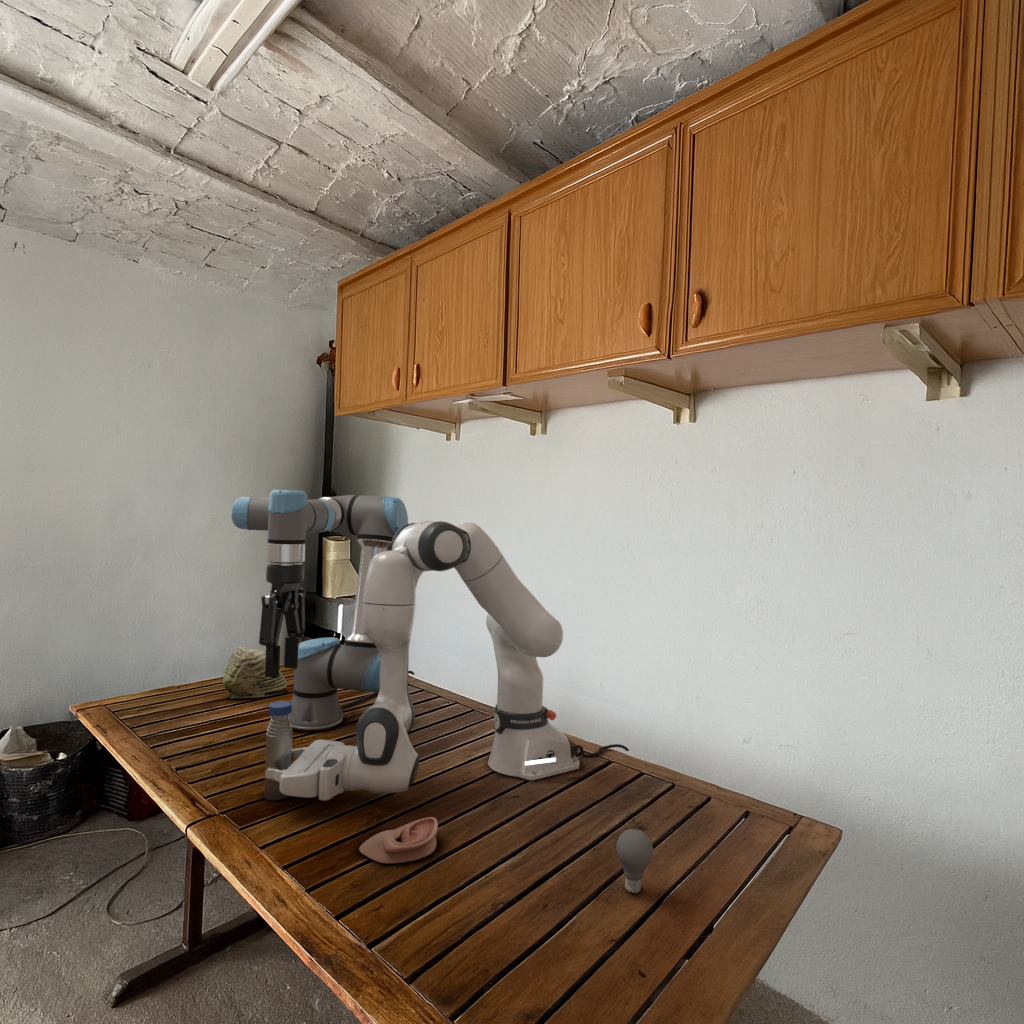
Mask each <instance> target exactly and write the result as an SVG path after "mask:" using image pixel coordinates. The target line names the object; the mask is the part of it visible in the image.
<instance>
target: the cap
mask: <svg viewBox="0 0 1024 1024" xmlns="http://www.w3.org/2000/svg"><path fill="white" fill-rule="evenodd" d="M291 702H292V701H287V700H279V701H278V700H277V701H273V702H270V703H269V706H268V714H269V715H270V716H272V715H273V716H284V715H288V714H290V713H291V712H292V704H291Z"/></svg>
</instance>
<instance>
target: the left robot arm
mask: <svg viewBox="0 0 1024 1024" xmlns="http://www.w3.org/2000/svg"><path fill="white" fill-rule="evenodd" d="M408 515H409V514H408V511H407V507H406V505H405V503H404V501H403V500H402V499H400V497H395V496H387V495H360V494H348V495H347V494H346V495H336V496H323V497H319V498H317V499H316V498H315V499H308V495H307V493H306V491H304V490H291V489H273V490H271V491H270V493H269V497H259V496H258V497H257V496H242V497H241V496H240V497H238V498H237V499H236V500H235V501H234V502H233V504H232V506H231V514H230V517H231V521H232V523H233V525H234V526H235V527H236V528H237V529H241V530H248V531H267V547H266V551H267V553H266V555H267V556H266V561H267V562H268V564H267V565H266V574H265V581H266V582H267V583H270V584H271V588H270V591H269V594H268V595H266V594H263V595H262V596H261V616H260V617H261V618H260V628H259V638H258V644H259V645H260V646H265V653H266V666H265V677H272V678H278V677H279V670H280V668H281V667H280V665H281V645H279V641H280V636H281V632H282V626H283V622H284V620H285V626H286V633H287V636H286V637H284V641H285V642H284V661H283V662H284V664H283V668H284V669H294V672H293V695H292V696H293V697H292V699H291V701H290V702H291V704H292V712H291V713H290V714H288V717H289V720H290V723H291V727H292V731H294V732H295V731H296V732H301V733H316V732H325V731H329V730H332V729H335V728H337V727H339V726H340V725H342V723H343V722H344V714H343V709H345V708H347V707H348V708H349V707H350V706H353V705H356V704H359V703H361V702H364V701H366V700H368V699H370V698H373V697H374V696H376V695H378V694H379V690H380V654H379V651H378V649H377V647H376V645H375V644H374V643H373V642H371V641H370V640H369V639H368V637H367V636H366V635H365V633H364V627H363V618H362V608H363V595H364V587H365V581H366V576H367V571H368V568H369V564H370V561H371V559H372V558H373V557H374V556H375V555H376V554H378V553H381V552H384V551H387V549H388V547H389V545H390V544H391V542H392V539H393V537H394V535H395V534H396V532H397V531H398V530H399V529H400V528H402V527H403V526H405V525H407V524H409V516H408ZM323 532H324V533H325V532H331V533H337V534H342V535H348V536H357V539H356V541H357V543H358V544H359V545H360V547H361V551H360V558H359V568H358V575H357V584H356V592H355V599H354V600H355V601H354V608H353V610H354V611H353V617H352V623H351V624H352V625H351V633H350V634H349V635H348V636H347V637H345V638H344V643H343V644H340V643H341V641H340V639H339V638H338V637H334V636H333V637H318V638H313V639H307V640H304V641H302V642H300V641H299V638H304V636H305V631H306V614H305V613H306V609H305V605H306V602H305V600H306V599H305V598H306V592H307V591H306V590H307V589H306V587H299V584H300V583H303V582H304V580H305V565H304V564H303V563H304V562H306V535H307V534H320V533H323ZM409 674H411V675H412V676H414V675H416V674H415V672H414V671H412V670H408V675H409ZM338 689H339V690H340V689H341V690H349V691H350V690H351V691H359V692H362V693H366V692H370V694H368V695H366V696H365V695H364V696H363V697H361V698H357V699H354V700H353V701H350V702H347V703H344V704H341V702H340V699H339V695H338ZM371 692H372V693H371Z"/></svg>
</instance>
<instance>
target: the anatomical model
mask: <svg viewBox="0 0 1024 1024" xmlns="http://www.w3.org/2000/svg"><path fill="white" fill-rule="evenodd" d="M438 830H439V822H438V819H437V818H436V817H434V816H428V817H423V818H419V819H417V820H414V821H410V822H409V823H407V824H404V825H401V826H398V827H397V828H395V829H388V830H383V831H381V832H378V833H376V834H374V835H372V836H371V837H369V838H368V839H366V840H365V841H364V842H363V843H362V844H361V845H360V846H359V848H358V850H359V852H360V853H361V854H362V855H364V857H366V858H368V859H369V860H372V861H374V862H377V863H380V864H399V863H400V864H401V863H409V862H413V861H417V860H420V859H422V858H426V857H427V856H429V855H431V854H432V853H433V852H435V850H436V847H437V837H436V836H437V834H438Z"/></svg>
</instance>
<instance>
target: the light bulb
mask: <svg viewBox="0 0 1024 1024" xmlns="http://www.w3.org/2000/svg"><path fill="white" fill-rule="evenodd" d="M615 849H616V854H617V857H618V859H619V861H620V863H621V865H622V867H623V873H624V874H623V875H624V876H625V878H624V888H625V890H627V891H628V892H630V893H634V894H635V893H639V892H640V891H641V889H642V887H641V886H642V879H643V877H644V875H645V871H646V868H647V867H648V866H649V864H650V863H651V861H652V859H653V855H654V847H653V843H652V841H651V838H649V836H648V835H647V834H646V833H645V832H643V831H642V830H641V829H636V828H629V829H627V830H625V831H623V832H622V833H621V834H620V835H619V837H618V839H617V841H616V847H615Z"/></svg>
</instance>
